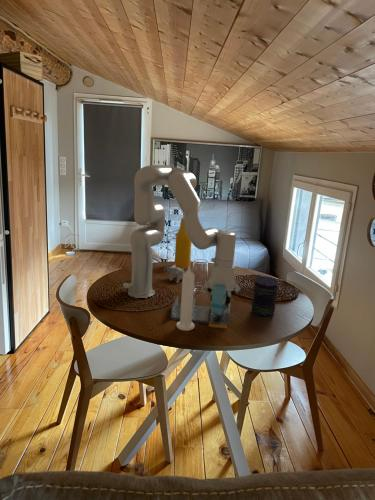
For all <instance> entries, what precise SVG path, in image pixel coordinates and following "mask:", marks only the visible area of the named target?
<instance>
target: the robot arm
mask: <svg viewBox="0 0 375 500" xmlns="http://www.w3.org/2000/svg"><path fill="white" fill-rule="evenodd" d="M133 181H134V210H133V211H134V214H133V218H134V222H135V223H136V224H137V225H139V226H143V227H139V228H137V229H134V230H133V231H132V232H131V234H130V235H129V236H130V237H129V242H130V243H129V244H130V249H131V282H130V283H127V282H123V284H122V287H123V289H125V290H128V291H127V294H128V296H129V297H131V298H133V297H134V299H138V298H145V299H149V298H148V297H150V298H152V297H154V296H155V295H156V291H155V289H153V265H154V264H153V263H154V262H153V261H154V259H153V257H154V256H153V252H152V250H151V247H154V246H157V245H159V244H161V243H162V242H163V240H164V237H165V223H166V213H165V209H164V206H163V205H162V203H161V204H160V202H156V201H155V192H154V188H153V187H156V186H168V188H169V190H170V192H171V194H172V195H173V198H174V199H175V201H176V202H177V204H178V206H179V209H180V210H181V212H182V218H183V222H184V228H185V231H186V233H187V235H188V237H189V238H190V240H191V244H192V245H193V246H194V247H195V248H196V249H197V250H202V251H203V250H206V249H208V248H212V247H215V254H214V257H211V260H210V262H213V263H212V265H211V269H210V275H209V279H207V281H206V282H205V283H204V284H203V287H204V289H205V290H207V292H209V294H210V302H211V301H212V291H213V287H214V285H221V286H226V291H227V292H228V295H227V303H226V306H228V307H229V304H230V305H231V302H230V301H231V298H232V296H234V295H235V294H236V293H238V292H239V291H241V288H240V286H239V284H237V282H236V267H235V265H234V262H235V253H236V252H235V250H236V243H237V236H236V233H234V232H233V231H230V230H229V231H228V230H222V229H219V228H216V227H207V228H205V229H204V227H203V225H202V223H201V222H200V218H199V212H200V211H199V210H200V208H201V205H202V202H201V200H200V198H199V196H198V194H197V192H196V190H195V189H196V187H197V184H198V180H197V177H196V176H195V175H194V174H193V172H191V171H188V170H184V169H181V168H178V167H175V166H172V165H166V164H162V165H161V164H153V165H147V166H144V167H143V166H142V167H141V168H139V170H138V171H136V173H135V176H134V180H133ZM154 294H155V295H154ZM153 295H154V296H153ZM151 296H152V297H151Z"/></svg>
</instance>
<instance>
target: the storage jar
mask: <svg viewBox="0 0 375 500" xmlns="http://www.w3.org/2000/svg"><path fill="white" fill-rule="evenodd" d="M278 285H279V281H278V280H277V279H274V278H271V277H267V276H265V277H263V276H262V277H257V278H255V280H254V285H253V299H252V303H251V310H250V311H251V314H252V315H253V316H255V317H256V318H260V319H271V318H273V317H274V315H275V310H276V297H277V294H278V289H279V288H278V287H279V286H278Z"/></svg>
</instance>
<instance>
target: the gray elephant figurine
mask: <svg viewBox="0 0 375 500" xmlns="http://www.w3.org/2000/svg"><path fill="white" fill-rule="evenodd" d="M163 271H164V272H168V273H169V281H170V282H173V280H174V279H176V281H175V282H176V284H179V283H180V280H181V279H182V280H183V273H185V269H183V268H182V269H180V268H179V267H178V268H177V267H176V265H175V264H173V265H170V266H165V268H164V270H163Z"/></svg>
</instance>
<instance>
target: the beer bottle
mask: <svg viewBox="0 0 375 500" xmlns="http://www.w3.org/2000/svg"><path fill="white" fill-rule="evenodd" d="M174 251H175V254H174V264H173V265H176V267H177V268H178V267H179V268H180V269H182V268H183V269H184V270H188V267H189V266H190V267H191V256H192V255H191V254H192V242H191V240H190V238H189V237H188V235H187V233H186V231H185V228H184V222H183V217H181V218H180V225H179V229H178V231H177V233H176V236H175V250H174Z"/></svg>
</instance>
